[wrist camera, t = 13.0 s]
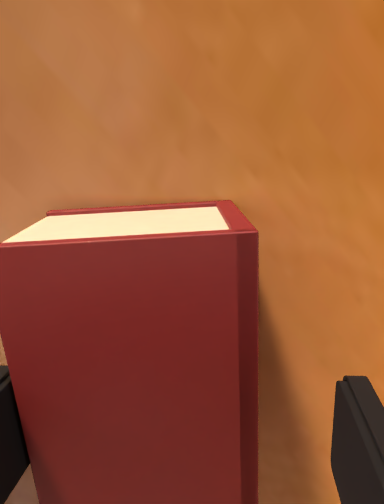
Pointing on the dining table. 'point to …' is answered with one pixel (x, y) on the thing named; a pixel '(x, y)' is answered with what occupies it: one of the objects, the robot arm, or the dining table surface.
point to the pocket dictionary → (136, 353)
